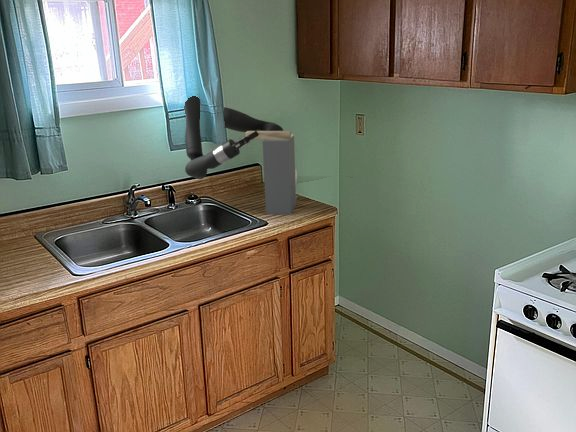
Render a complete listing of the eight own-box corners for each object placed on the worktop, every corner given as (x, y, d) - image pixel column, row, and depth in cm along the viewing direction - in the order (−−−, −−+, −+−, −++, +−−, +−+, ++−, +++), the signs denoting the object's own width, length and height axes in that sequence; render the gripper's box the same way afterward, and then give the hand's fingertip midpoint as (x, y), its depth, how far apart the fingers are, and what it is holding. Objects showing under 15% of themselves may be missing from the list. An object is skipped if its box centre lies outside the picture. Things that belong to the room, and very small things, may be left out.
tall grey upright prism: (272, 204, 269) (269, 134, 259) (296, 205, 267) (293, 134, 257) (265, 214, 256) (262, 140, 246) (290, 214, 254) (288, 140, 244)
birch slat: (247, 137, 254) (247, 131, 253) (291, 137, 251) (291, 130, 250) (245, 139, 250) (245, 132, 249) (289, 139, 247) (289, 132, 246)
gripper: (216, 147, 248) (250, 127, 243) (226, 141, 262) (257, 121, 256) (226, 162, 250) (259, 142, 244) (235, 155, 263) (267, 136, 258)
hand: (258, 132), depth 250 cm, fingers closed on birch slat, 4 cm apart
